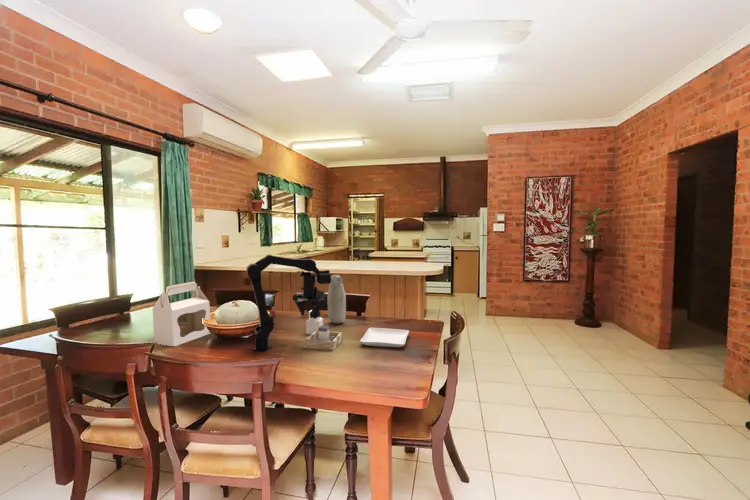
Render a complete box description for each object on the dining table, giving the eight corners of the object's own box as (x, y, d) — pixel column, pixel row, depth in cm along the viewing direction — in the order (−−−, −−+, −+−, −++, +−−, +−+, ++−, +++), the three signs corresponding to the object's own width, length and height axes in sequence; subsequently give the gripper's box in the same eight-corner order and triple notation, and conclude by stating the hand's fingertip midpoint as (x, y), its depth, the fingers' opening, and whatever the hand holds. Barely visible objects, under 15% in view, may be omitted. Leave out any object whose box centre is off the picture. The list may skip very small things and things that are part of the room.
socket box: (333, 350, 158) (333, 341, 158) (304, 348, 161) (304, 340, 160) (342, 340, 172) (342, 332, 171) (315, 338, 174) (315, 330, 174)
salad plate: (404, 350, 158) (404, 343, 157) (359, 347, 162) (359, 340, 162) (409, 336, 178) (409, 329, 178) (369, 333, 183) (369, 327, 182)
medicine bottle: (323, 330, 187) (322, 308, 186) (319, 334, 180) (319, 312, 179) (310, 330, 188) (309, 308, 187) (306, 334, 181) (305, 311, 180)
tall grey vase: (349, 322, 203) (348, 274, 201) (338, 326, 194) (337, 276, 192) (335, 319, 208) (335, 273, 206) (324, 323, 200) (323, 275, 197)
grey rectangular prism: (326, 345, 164) (326, 328, 163) (318, 344, 165) (318, 327, 164) (329, 342, 168) (329, 325, 167) (321, 341, 168) (321, 325, 168)
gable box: (173, 347, 163) (169, 288, 161) (153, 343, 168) (150, 286, 166) (211, 333, 184) (209, 280, 182) (193, 330, 189) (190, 279, 187)
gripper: (334, 285, 167) (334, 317, 168) (309, 280, 180) (309, 310, 181) (316, 288, 159) (316, 321, 160) (291, 283, 171) (291, 314, 172)
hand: (308, 316), depth 168 cm, fingers open, 9 cm apart
